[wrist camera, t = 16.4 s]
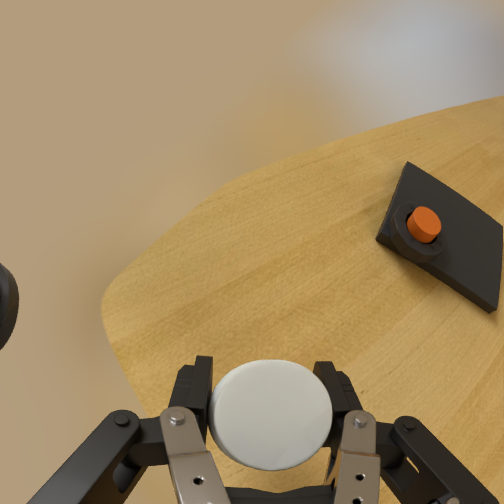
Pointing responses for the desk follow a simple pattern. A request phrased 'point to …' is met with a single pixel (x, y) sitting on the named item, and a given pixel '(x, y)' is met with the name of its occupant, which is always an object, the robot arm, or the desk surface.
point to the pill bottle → (269, 414)
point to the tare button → (424, 224)
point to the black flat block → (447, 237)
